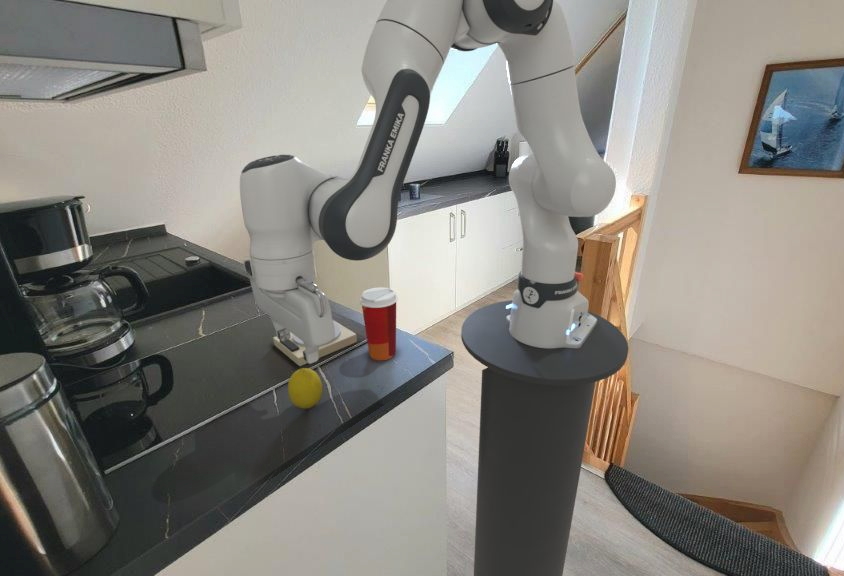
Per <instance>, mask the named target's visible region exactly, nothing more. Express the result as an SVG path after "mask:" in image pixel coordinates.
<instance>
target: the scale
mask: <svg viewBox="0 0 844 576" xmlns="http://www.w3.org/2000/svg"><path fill="white" fill-rule="evenodd" d="M333 325H334V331H335V337H334V339H333V341H332V342H330V343H328V344H326V345H324V346H321V347H319V349H318V357H319V359H321V358H322V357H325V356H327V355H330V354H332V353H334V352H337V351H339V350H342V349H344V348H346V347H348V346H351V345H353V344H355V343H357V342H358V338H357V333H355V332H354V331H352V330H351V329H349V328H347V327H345V326H344V325H342V324H341V323H339V322H337V321H336V320H335V319H333ZM290 335H291V337H290V339H288V340H285V341H281V340H280V339H278V338H277V335H276V336H274V337H272V340H273V345H274V346H275V347H276V348H277V349H278V350H279V351H281V352H282V353H283V354H284V355H285V356H286V357H288V359H290V360H291V361H293V363H295V364H296V365H297V366H299V367H302V366H304V365H307V364H309V363H308V362H307V361H305V360H304V356H303V351H304V350H305V349H306V345H304V342H303V341H302V340H301V339H299V338H298V337H297V336H295V335H294V334H293V333H291V332H290Z"/></svg>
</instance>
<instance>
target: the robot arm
mask: <svg viewBox="0 0 844 576" xmlns="http://www.w3.org/2000/svg"><path fill="white" fill-rule="evenodd" d="M563 11H564V10H563V8H562V6H561V5H560V3H558V2H557V1H556V0H386V2H385V4H384V5H383V7H382V10H381V11H380V13H379V16H378V17H377V20H376V21H375V24H374V26H373V28H372V30H371V34H370V36H369V38H368V41H367V43H366V47H365V52H364V55H363V60H362V64H361V75H362V79H363V82H364V85H365V88H366V89H367V91H368V93H369V94H370V96H371V97H372V98H373V100H374V103H375V115H374V120H373V123H372V126H371V128H370V131H369V133H368V137H367V139H366V141H365V145H364V147H363V150H362V153H361V155H360V158H359V160H358V164H357V166H356V169H355V171H354V173H353V174H352V175H351V176H350V177H349V178H345V177H342V176H338V175H335V174H331V173H328V172H325V171H322V170H320V169H318V168H315V167H313V166H311V165H310V164H307V163H305V162H304V161H302V160H300V159H298V157H296V156H295V155H293V154H279V155H270V156H266V157H261V158H258V159H255V160H253V161H251V162H249V163H248V164H246V165H245V166H244V167H243V168H242V170H241V172H240V175H239V197H240V206H241V212H242V218H243V223H244V227H245V229H246V230H247V231H246V232H248V235H249V239H250V240H249V241H250V244H249V245H250V246H249V256H250V257H248V258H245V259H243V261H242V262H243V268H244V271H245V273H246V274H248V277H249V283H250V286H251V287H250V288H251V291H252V294H253V298H254V301H255V302H256V305H257V308H258V309H260V310H261V311H262V312H263V313H265V314H266V315H267V316H269V318H270V321H271V323H272V325H273V327H274V330H275V334H276V336H277V338H278V339H280V340H281V341H285V340H288V339H290V337H291V335H290V332H291V333H293V334H294V335H295V336H297V337H298V338H299V339H301V340H302V341H303V342H304V345H306V349H305V350H304V351H303V356H304V360H305V361H307V362H308V363H307V364H310V365H311V364H313V363H316V362H317V361H319V359H320V358H319V357H318V349H319V347H321V346H324V345H326V344H328V343H330V342H332V341H333V339H334V337H335V331H334V325H333V320H334V319H333V315H332V309H331V307H330V306H331V305H330V303H329V300H328V298H327V295H326V294H325V293H324V292H322V291H321V290H319V287H318V286H317V284H315V283H313V282H314V281H316V279H317V277H318V276H317V268H316V258H315V252H314V243H316V242H318V241H324V243H326V245H327V246H328V247H329V249H330V250H331V251H332V252H333V253H334V254H336V255H337V256H339V257H340V258H343V259H345V260H349V261H366V260H369V259H372V258H374V257H375V256H378V255H379V254H380V253H381V252H383V251H384V250H385V249H386V248H387V247H388V246H389V244H390V243H391V241H392V239H393V238H394V236H395V233H396V228H397V225H398V224H397V223H398V209H399V200H400V196H401V191H402V188H403V185H404V182H405V179H406V177H407V175H408V172H409V168H410V166H411V162H412V160H413V157H414V155H415V152H416V150H417V149H416V148H417V146H418V143H419V142H420V141H419V140H420V138H421V135H422V133H423V129H424V126H425V123H426V120H427V116H428V113H429V108H430V103H431V97H432V93H433V90H434V88H435V86H436V83H437V80H438V78H439V75H440V74H441V71H442V69H443V67H444V64H445V61H446V60H447V57H448V55H449V52H450V50H453V51H458V52H472V51H476V50H477V49H481V48H486V47H490V46H493V45H495V44H496V45H497V46H498V47H499V49H500V50H501V51H502V53H503V55H504V58H505V62H506V70H507V77H508V79H507V80H508V83H509V90H510V95H511V96H510V97H511V100H512V101H511V102H512V106H513V107H512V108H513V113H514V118H515V122H516V128H517V130H518V132H519V133H520V135H521V136H522V137H523V138H524V139H525V141H526V143H527V144H528V146H529V148H530V150H531V152H528V153H525V154H522V155H521V156H518V158H517V159H515V160H514V162H513V163H512V164H511V167H510V169H509V172H508V185H509V187H510V190H511V191H512V193H513V195H514V197H515V201H516V203H517V209H518V213H519V219H520V226H521V233H522V234H521V235H522V249H521V266H520V271H519V272H518V277H517V289H516V290H514V292H513V296H512V300H513V302H512V304H510V305H507V306H506V309H508V308H511V307H512V308H511V314H510V315H508V316H507V318H506V322H507V323H508V324H509V332H510V334H511V335H512V336H513V337H514V338H515V339H516V340H518V341H520V342H522V343H524V344H526V345H530V346H533V347H539V348H564V347H565V348H580V347H581V346H582V344H583V343H584V342H585V340H586V339H587V337H588V336H589V334H590V333H591V331H592V330H593V328H594V327H595V325H596V324H597V319H596V318H595V317H594V316H592V315H590V314H589V313H588V311H589V305H590V303H589V302H590V301H589V300H588V299H587V297H586V296H584V295H583V294H582V293H581V292H580V291H579V290H578V283H581V282H582V281H583V280H584V273H582V272H577V271H576V266H577V258H578V251H579V240H578V237H577V235H576V233H575V231H574V229H573V228H572V225H571V222H570V217H571V218H591V217H594V216H597V215H599V214H601V213H602V212H603V211H604V210H605V209H606V208H608V206H609V205H610V203H611V202H612V200H613V198H614V196H615V194H616V193H615V192H616V188H617V187H616V186H617V182H616V181H617V180H616V174H615V172H614V170H613V168H612V167H611V166H610V165H609V164H608V163H607V162H605V160H603V158H602V157H601V156H600V154H599V152H598V151H597V149H596V147H595V146H594V144H593V142H592V139H591V137H590V134H589V132H588V129H587V127H586V124H585V122H584V118H583V115H582V111H581V106H580V99H579V92H578V85H577V76H576V67H575V59H574V51H573V46H572V42H571V41H572V40H571V37H570V32H569V29H568V25H567V20H566V18H565V15H564V12H563Z"/></svg>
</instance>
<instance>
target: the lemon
mask: <svg viewBox="0 0 844 576" xmlns="http://www.w3.org/2000/svg"><path fill="white" fill-rule="evenodd" d="M287 393H288V397H289V400H290V401H291V403H292V405H294V406H295V407H297V408H299V409H310V408H312V407H314V406H316V405H317V404H318V403H319V401H320V400H321V398H322V395H323V383H322V380H321V378H320V376H319V374H318V373H317V372H316V371H315V370H313V369H311V368H307V367H302V368H299V369H297V370H295V371H294V372H293V373H292V374H291V376H290V378H289V380H288V385H287Z"/></svg>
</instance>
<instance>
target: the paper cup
mask: <svg viewBox="0 0 844 576" xmlns="http://www.w3.org/2000/svg"><path fill="white" fill-rule="evenodd" d="M398 300H399V297H398V296H397V294H396V292H395V290H393V289H391V288H389V287H385V286H384V287H383V286H381V287H380V286H378V287H372V288H368V289H366V290H364V291H363V292H362V294H361V297H360V299H359V305H361V310H362V314H363V323H364V329H365V336H366V342H367V348H368V353H369V357H370V359H373V360H375V361H387V360H390V359H392V358H394V356H395V355H396V353H397V302H398Z"/></svg>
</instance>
